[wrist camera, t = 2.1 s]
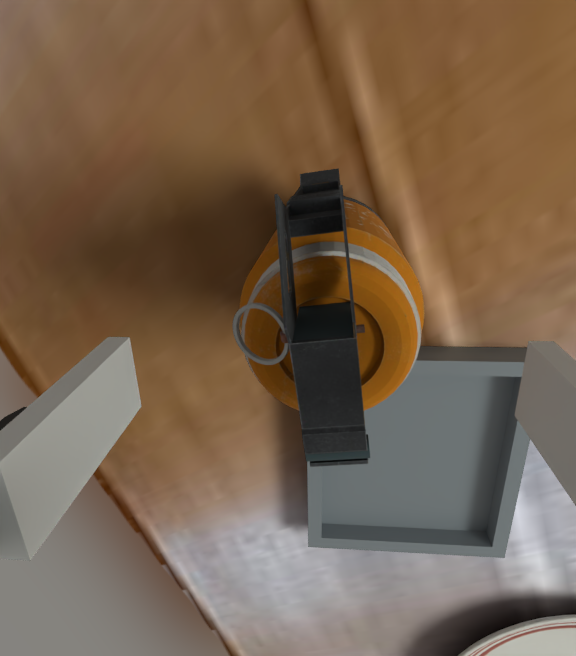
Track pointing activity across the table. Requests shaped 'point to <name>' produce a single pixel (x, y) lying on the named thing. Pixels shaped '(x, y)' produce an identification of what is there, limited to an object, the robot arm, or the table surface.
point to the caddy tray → (431, 462)
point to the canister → (330, 317)
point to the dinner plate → (530, 639)
